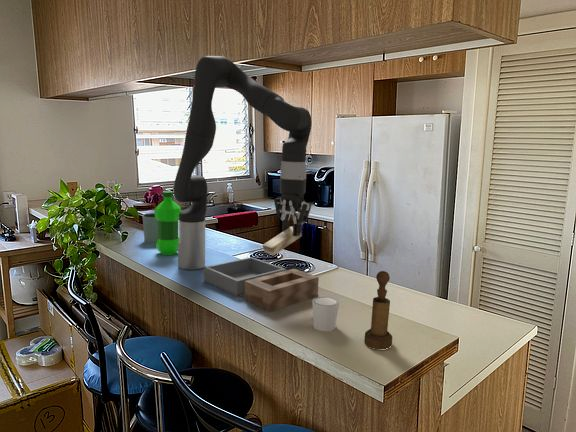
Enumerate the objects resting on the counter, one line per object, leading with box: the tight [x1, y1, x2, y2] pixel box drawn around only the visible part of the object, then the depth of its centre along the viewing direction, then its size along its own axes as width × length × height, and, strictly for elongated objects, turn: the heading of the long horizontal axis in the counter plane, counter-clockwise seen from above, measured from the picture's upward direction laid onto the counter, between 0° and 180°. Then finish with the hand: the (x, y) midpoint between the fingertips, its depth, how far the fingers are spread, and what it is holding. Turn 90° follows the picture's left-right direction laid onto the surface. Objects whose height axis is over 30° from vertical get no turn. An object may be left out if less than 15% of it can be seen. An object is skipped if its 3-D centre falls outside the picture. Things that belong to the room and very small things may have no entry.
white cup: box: [312, 296, 340, 332], centre depth 114 cm, size 7×7×7 cm
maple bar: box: [262, 225, 303, 256], centre depth 130 cm, size 12×4×2 cm, turn 133°
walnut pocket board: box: [243, 268, 320, 312], centre depth 133 cm, size 20×11×6 cm, turn 133°
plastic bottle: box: [153, 190, 182, 256], centre depth 176 cm, size 10×10×25 cm
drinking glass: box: [141, 212, 158, 245], centre depth 196 cm, size 10×10×12 cm
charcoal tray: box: [203, 256, 287, 298], centre depth 146 cm, size 20×18×5 cm
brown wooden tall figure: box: [363, 270, 393, 350], centre depth 104 cm, size 7×6×18 cm
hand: (291, 234), depth 132 cm, fingers closed on maple bar, 4 cm apart
